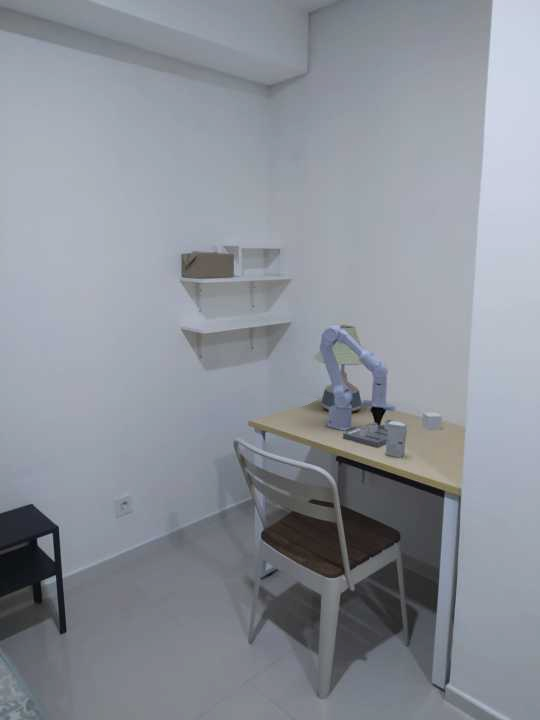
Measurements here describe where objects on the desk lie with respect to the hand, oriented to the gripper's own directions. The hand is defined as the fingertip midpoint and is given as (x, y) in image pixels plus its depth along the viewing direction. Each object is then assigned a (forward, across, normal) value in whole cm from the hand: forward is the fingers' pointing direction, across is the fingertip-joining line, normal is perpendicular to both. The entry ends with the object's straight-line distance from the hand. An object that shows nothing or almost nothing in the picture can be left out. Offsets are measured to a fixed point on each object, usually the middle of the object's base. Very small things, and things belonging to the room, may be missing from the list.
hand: (377, 424), depth 232 cm
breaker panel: (+3, +3, -7) cm, 8 cm away
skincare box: (+3, +20, -20) cm, 29 cm away
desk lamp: (+3, -32, +18) cm, 36 cm away
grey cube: (+3, +13, +22) cm, 26 cm away
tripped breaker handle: (0, +5, 0) cm, 5 cm away
